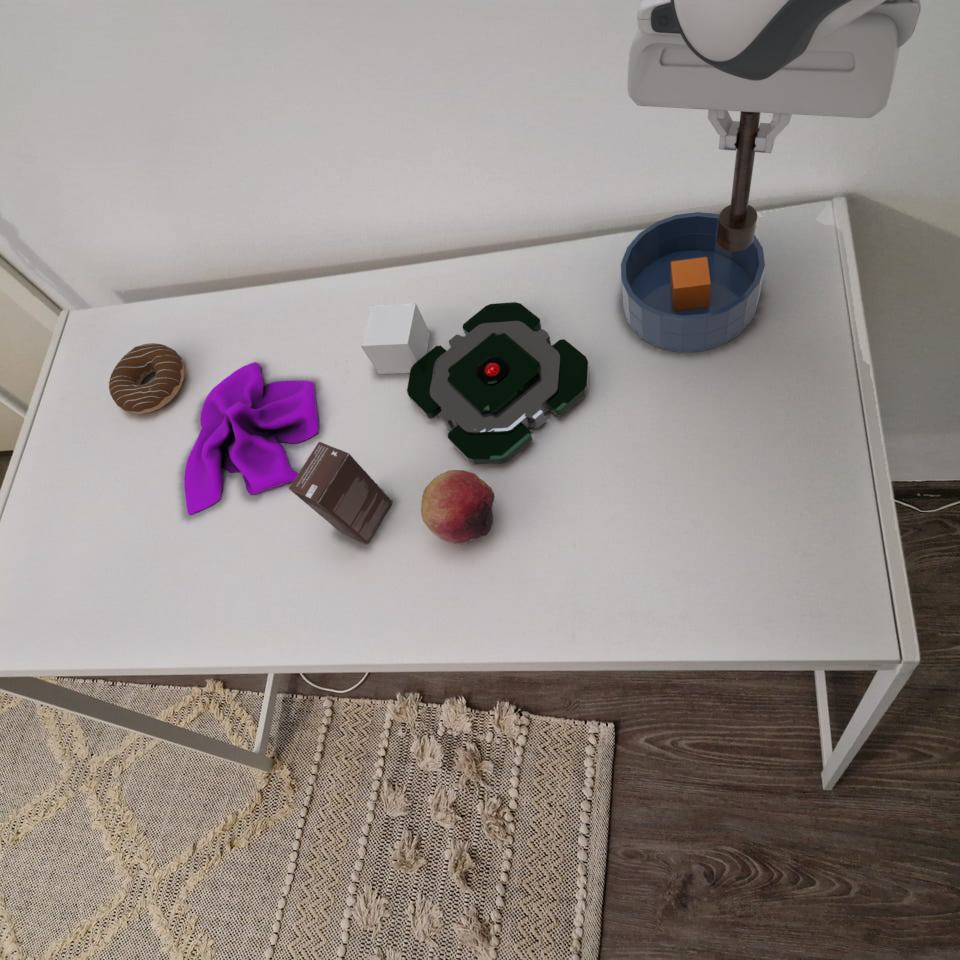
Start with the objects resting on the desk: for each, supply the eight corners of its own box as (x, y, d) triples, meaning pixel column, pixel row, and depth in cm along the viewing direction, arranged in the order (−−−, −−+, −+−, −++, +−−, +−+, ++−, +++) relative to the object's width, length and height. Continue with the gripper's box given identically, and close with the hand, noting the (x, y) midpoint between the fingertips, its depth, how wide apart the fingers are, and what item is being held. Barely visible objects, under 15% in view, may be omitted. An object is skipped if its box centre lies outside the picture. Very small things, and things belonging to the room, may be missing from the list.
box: (363, 488, 82) (318, 438, 72) (394, 502, 81) (352, 453, 70) (335, 532, 81) (285, 488, 70) (366, 547, 79) (320, 504, 68)
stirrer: (757, 227, 72) (778, 94, 59) (749, 254, 71) (768, 124, 58) (721, 223, 73) (734, 92, 60) (712, 249, 72) (723, 121, 59)
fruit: (457, 479, 80) (437, 446, 73) (515, 505, 77) (500, 472, 70) (422, 537, 78) (397, 508, 71) (480, 566, 75) (461, 539, 68)
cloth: (227, 360, 97) (202, 332, 91) (344, 377, 90) (324, 349, 85) (152, 505, 89) (118, 484, 83) (274, 535, 82) (246, 515, 77)
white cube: (423, 372, 88) (407, 344, 82) (378, 374, 89) (360, 346, 84) (430, 333, 90) (415, 302, 85) (386, 335, 92) (369, 305, 87)
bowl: (771, 258, 83) (778, 220, 78) (740, 363, 78) (745, 330, 73) (644, 242, 88) (643, 206, 83) (607, 339, 83) (603, 307, 78)
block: (705, 280, 83) (707, 256, 80) (709, 307, 81) (710, 284, 78) (670, 284, 84) (670, 261, 80) (673, 311, 82) (673, 288, 79)
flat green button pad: (489, 484, 79) (479, 466, 75) (399, 392, 87) (386, 371, 83) (607, 384, 81) (604, 360, 77) (508, 303, 89) (500, 279, 85)
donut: (150, 347, 101) (132, 330, 98) (204, 363, 97) (187, 346, 94) (107, 408, 98) (87, 392, 94) (161, 427, 94) (142, 412, 90)
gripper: (936, -47, 48) (881, 129, 60) (640, -41, 55) (644, 115, 67) (922, 13, 46) (868, 183, 58) (616, 11, 53) (625, 162, 65)
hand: (746, 146), depth 63 cm, fingers closed on stirrer, 2 cm apart
